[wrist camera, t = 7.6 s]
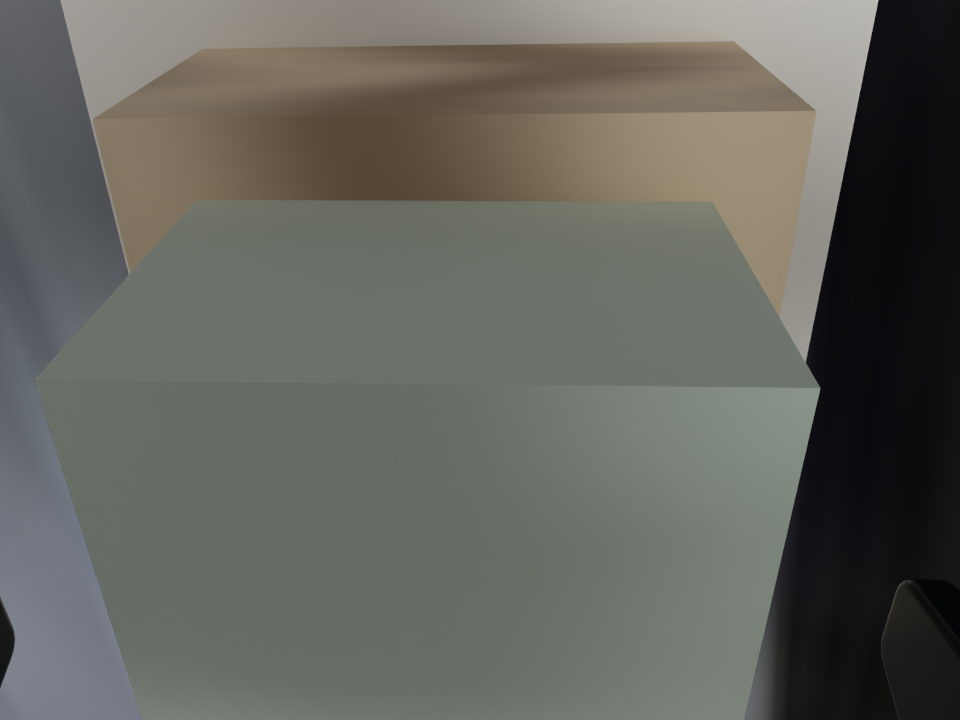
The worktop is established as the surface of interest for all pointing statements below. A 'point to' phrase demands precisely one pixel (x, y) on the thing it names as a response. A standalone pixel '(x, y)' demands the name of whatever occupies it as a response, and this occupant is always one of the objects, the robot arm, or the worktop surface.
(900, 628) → the robot arm
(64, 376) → the sage brick
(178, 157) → the wood brick
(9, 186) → the worktop surface
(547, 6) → the baseplate
